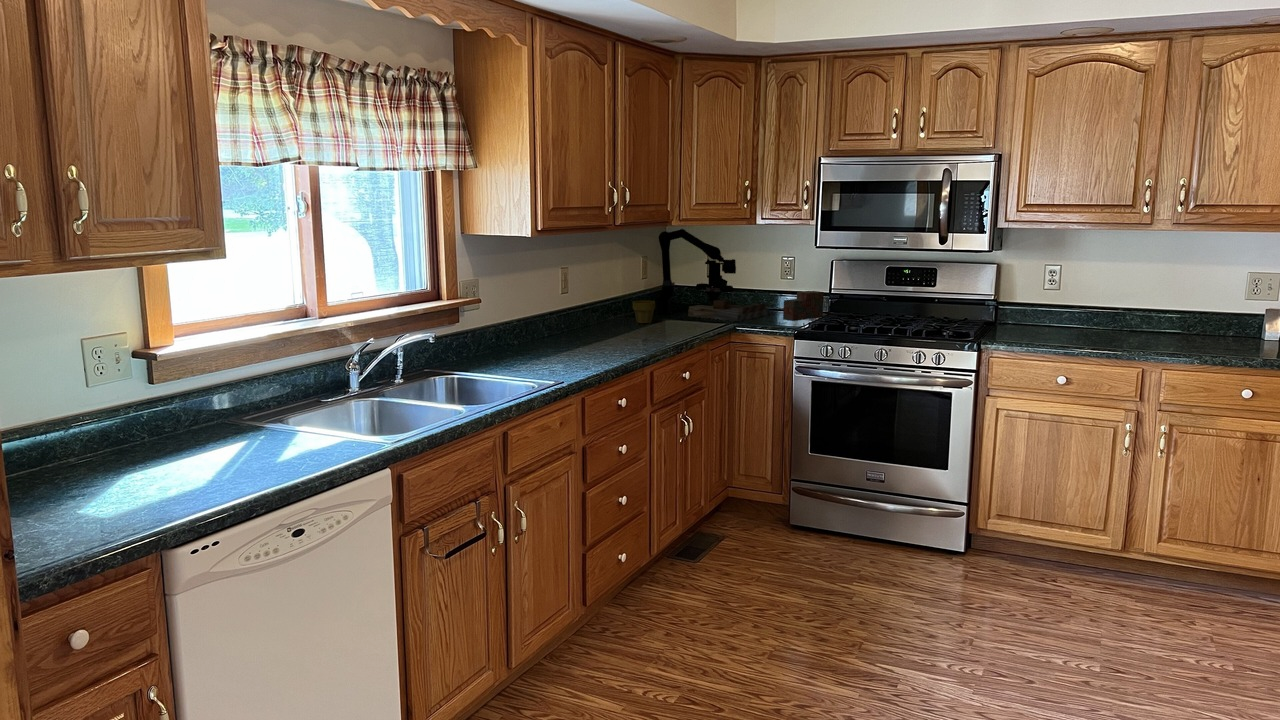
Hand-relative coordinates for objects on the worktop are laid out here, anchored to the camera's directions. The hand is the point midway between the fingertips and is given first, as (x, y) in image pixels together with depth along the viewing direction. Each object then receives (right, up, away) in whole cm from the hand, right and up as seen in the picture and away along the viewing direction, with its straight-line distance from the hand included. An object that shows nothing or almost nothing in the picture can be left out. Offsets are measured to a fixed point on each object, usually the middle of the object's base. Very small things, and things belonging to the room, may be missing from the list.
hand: (714, 305), depth 444 cm
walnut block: (+3, -2, -3) cm, 5 cm away
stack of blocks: (+41, -7, -13) cm, 44 cm away
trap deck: (+4, -5, -2) cm, 6 cm away
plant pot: (-34, -10, -28) cm, 45 cm away
